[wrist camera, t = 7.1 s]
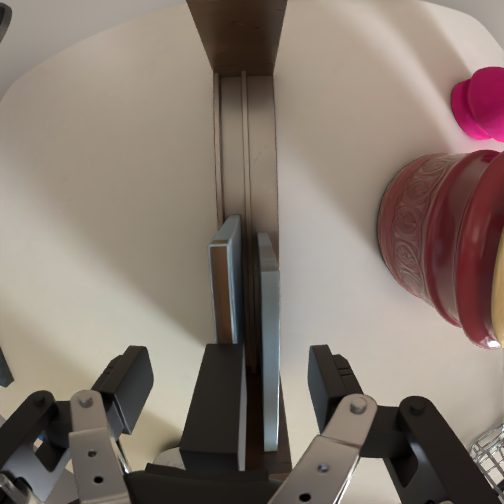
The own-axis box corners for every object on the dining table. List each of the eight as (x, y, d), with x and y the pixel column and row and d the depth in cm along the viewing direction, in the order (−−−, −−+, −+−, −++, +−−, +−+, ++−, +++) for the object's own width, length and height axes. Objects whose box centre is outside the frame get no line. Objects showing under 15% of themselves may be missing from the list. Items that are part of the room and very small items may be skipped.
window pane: (224, 215, 22) (142, 307, 5) (245, 214, 22) (224, 308, 5) (232, 350, 24) (212, 535, 8) (251, 350, 24) (249, 537, 8)
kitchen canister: (387, 311, 25) (501, 437, 8) (356, 173, 23) (531, 171, 5) (483, 264, 24) (604, 327, 7) (464, 144, 22) (611, 137, 4)
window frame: (217, 73, 21) (183, -25, 8) (271, 71, 21) (288, -31, 8) (231, 365, 27) (218, 482, 14) (277, 364, 27) (292, 480, 13)
